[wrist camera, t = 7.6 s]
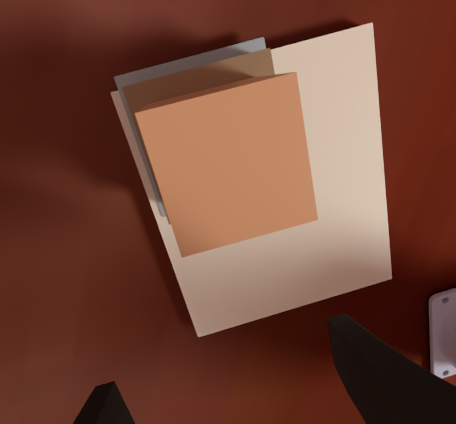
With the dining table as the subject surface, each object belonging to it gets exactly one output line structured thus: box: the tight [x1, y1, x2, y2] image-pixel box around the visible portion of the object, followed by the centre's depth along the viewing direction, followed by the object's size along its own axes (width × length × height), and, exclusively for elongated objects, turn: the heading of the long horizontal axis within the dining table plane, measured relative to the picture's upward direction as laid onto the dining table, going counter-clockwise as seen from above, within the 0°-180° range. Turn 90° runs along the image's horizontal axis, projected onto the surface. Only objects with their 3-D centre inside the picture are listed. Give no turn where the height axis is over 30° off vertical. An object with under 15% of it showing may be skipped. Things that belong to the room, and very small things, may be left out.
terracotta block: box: [135, 72, 318, 258], centre depth 12 cm, size 4×4×5 cm
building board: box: [110, 23, 392, 337], centre depth 18 cm, size 13×16×4 cm
